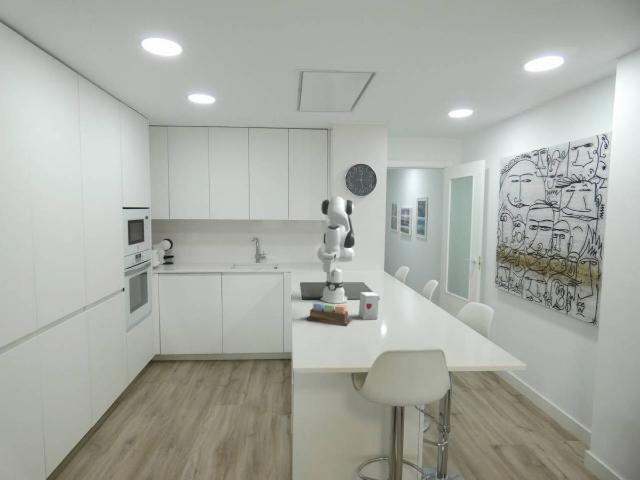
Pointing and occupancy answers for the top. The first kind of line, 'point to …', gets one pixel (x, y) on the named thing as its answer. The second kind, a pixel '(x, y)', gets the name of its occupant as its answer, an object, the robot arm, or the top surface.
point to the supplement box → (368, 305)
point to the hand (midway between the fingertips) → (330, 277)
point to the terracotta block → (340, 309)
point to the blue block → (318, 306)
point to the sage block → (329, 307)
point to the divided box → (329, 317)
